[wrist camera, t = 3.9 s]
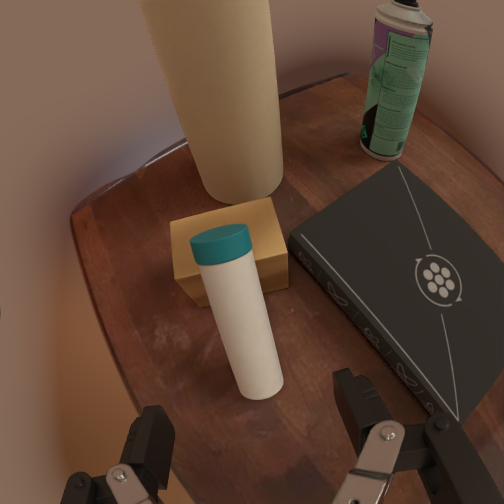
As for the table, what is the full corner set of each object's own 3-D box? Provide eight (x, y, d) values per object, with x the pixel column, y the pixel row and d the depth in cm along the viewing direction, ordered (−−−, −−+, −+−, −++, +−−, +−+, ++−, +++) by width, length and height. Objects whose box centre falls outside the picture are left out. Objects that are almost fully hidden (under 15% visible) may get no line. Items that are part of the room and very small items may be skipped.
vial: (288, 394, 22) (287, 389, 12) (243, 403, 22) (208, 405, 12) (259, 272, 27) (240, 196, 18) (219, 282, 27) (181, 211, 18)
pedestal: (265, 214, 30) (220, -49, 9) (188, 193, 33) (102, -17, 12) (294, 154, 34) (279, -58, 13) (224, 140, 36) (178, -45, 15)
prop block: (288, 287, 26) (287, 252, 21) (199, 308, 26) (174, 279, 21) (275, 239, 29) (270, 196, 23) (192, 259, 29) (169, 221, 23)
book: (286, 251, 28) (286, 234, 25) (389, 177, 31) (395, 158, 28) (438, 430, 18) (455, 432, 16) (521, 317, 21) (537, 307, 18)
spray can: (402, 137, 33) (432, -6, 16) (401, 166, 31) (442, 6, 14) (361, 127, 35) (376, -20, 17) (357, 154, 33) (377, -11, 15)
